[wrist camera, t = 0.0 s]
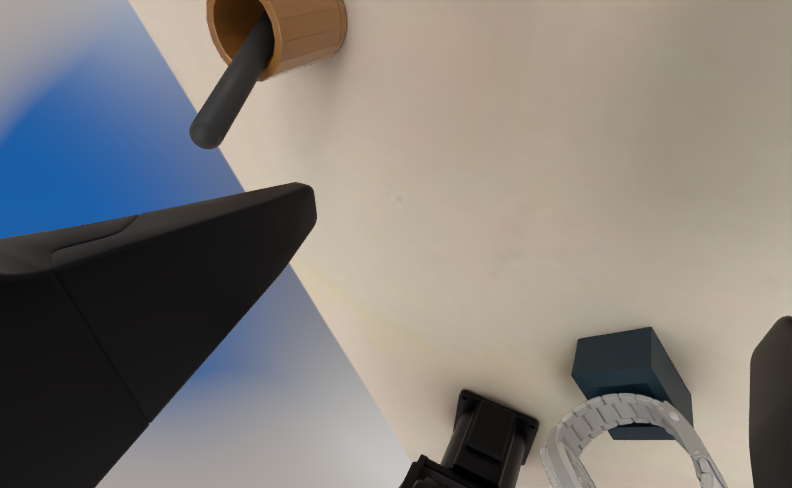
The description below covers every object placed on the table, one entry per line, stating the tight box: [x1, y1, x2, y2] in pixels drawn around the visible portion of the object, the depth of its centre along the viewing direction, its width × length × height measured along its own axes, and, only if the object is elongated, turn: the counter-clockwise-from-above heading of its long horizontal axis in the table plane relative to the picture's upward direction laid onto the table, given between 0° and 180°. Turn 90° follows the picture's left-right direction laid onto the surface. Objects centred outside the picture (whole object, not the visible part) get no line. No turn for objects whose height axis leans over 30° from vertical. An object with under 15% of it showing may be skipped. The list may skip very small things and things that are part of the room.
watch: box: [540, 327, 728, 488], centre depth 22 cm, size 6×8×11 cm
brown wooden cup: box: [206, 0, 347, 82], centre depth 21 cm, size 4×4×6 cm
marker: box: [189, 10, 275, 149], centre depth 20 cm, size 6×1×10 cm, turn 26°
